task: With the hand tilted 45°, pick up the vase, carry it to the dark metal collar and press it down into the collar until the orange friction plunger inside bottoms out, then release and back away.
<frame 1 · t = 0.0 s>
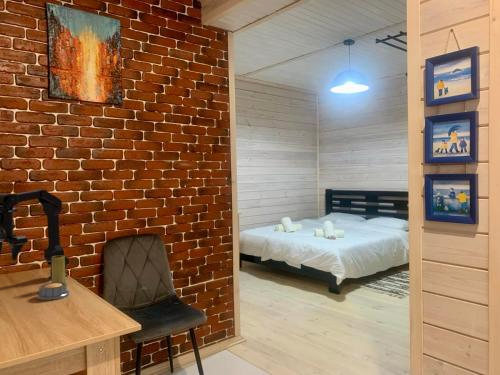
hand: (5, 259, 164), 15 cm above the table, tool pointing down, fingers open, 9 cm apart
collar: (53, 296, 160), on the table
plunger: (53, 286, 160), point 4 cm above the table, slide at 3.0 cm
vase: (58, 288, 172), on the table
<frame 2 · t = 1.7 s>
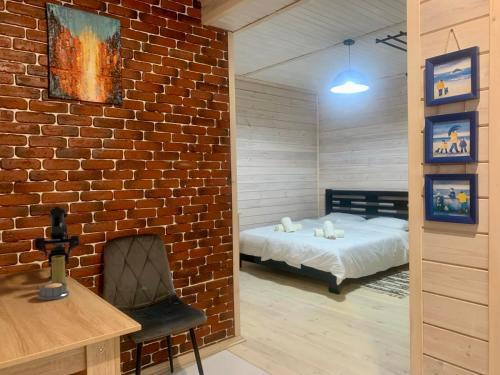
hand: (57, 256, 178), 13 cm above the table, tool tilted 45°, fingers open, 9 cm apart
nothing on the table moved.
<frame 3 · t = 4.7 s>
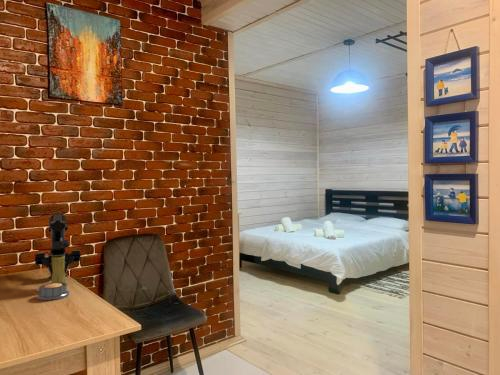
hand: (58, 273, 171), 7 cm above the table, tool tilted 45°, fingers closed on vase, 5 cm apart
vase: (58, 288, 172), on the table, touching gripper
everything else where it was.
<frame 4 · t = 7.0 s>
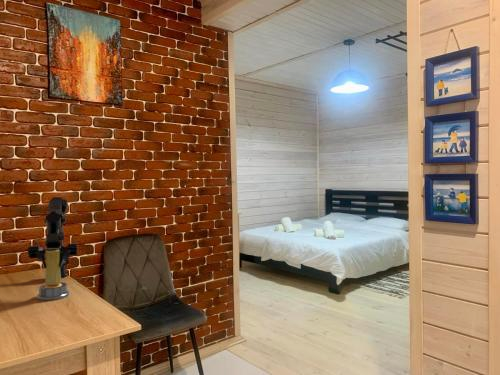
hand: (52, 267, 159), 12 cm above the table, tool tilted 45°, fingers closed on vase, 5 cm apart
vase: (53, 284, 160), point 5 cm above the table, touching gripper
everything else where it was.
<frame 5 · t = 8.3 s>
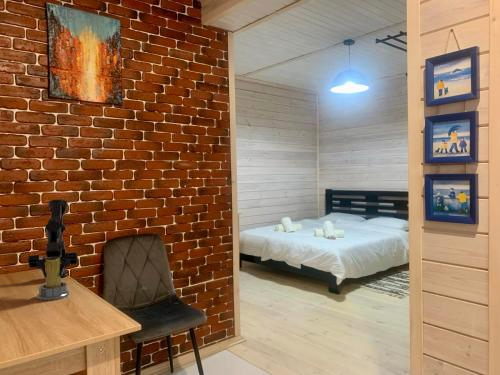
hand: (52, 276, 159), 9 cm above the table, tool tilted 45°, fingers closed on vase, 5 cm apart
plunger: (53, 293, 160), point 1 cm above the table, slide at 0.0 cm, touching collar, vase
vase: (53, 292, 161), point 1 cm above the table, touching gripper, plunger
when the fingers open (9 cm above the table, at t = 9.6 s): vase stays where it is, resting on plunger.
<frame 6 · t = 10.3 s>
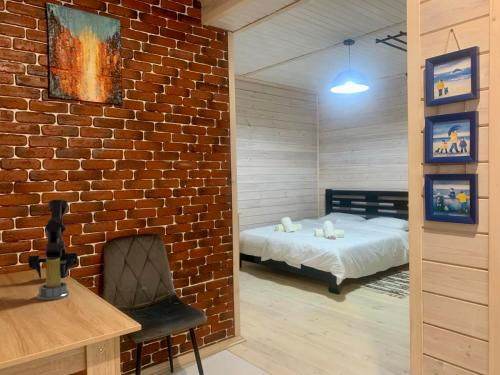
hand: (52, 277, 159), 8 cm above the table, tool tilted 45°, fingers open, 9 cm apart
vase: (53, 292, 161), point 1 cm above the table, touching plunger
everything else where it was.
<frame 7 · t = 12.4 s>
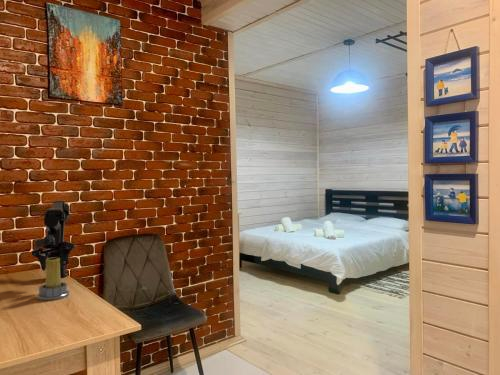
hand: (52, 268, 170), 9 cm above the table, tool tilted 25°, fingers open, 9 cm apart
nothing on the table moved.
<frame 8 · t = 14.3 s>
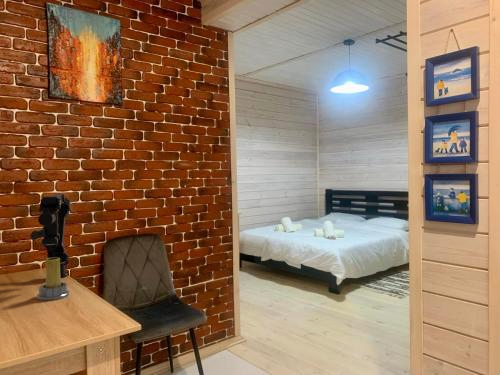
hand: (51, 257, 177), 13 cm above the table, tool pointing down, fingers open, 9 cm apart
nothing on the table moved.
at the end: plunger slide at 0.0 cm; vase 0.3 cm from the collar (horizontally); vase tilted 0° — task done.
